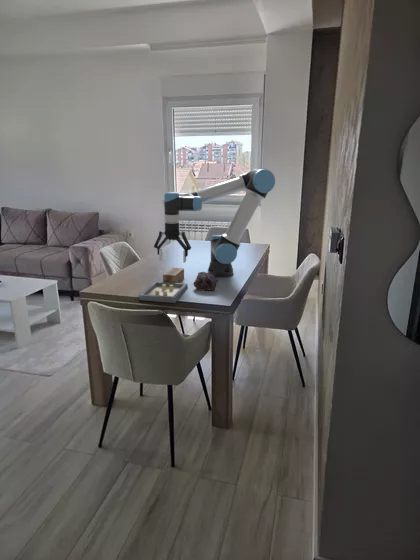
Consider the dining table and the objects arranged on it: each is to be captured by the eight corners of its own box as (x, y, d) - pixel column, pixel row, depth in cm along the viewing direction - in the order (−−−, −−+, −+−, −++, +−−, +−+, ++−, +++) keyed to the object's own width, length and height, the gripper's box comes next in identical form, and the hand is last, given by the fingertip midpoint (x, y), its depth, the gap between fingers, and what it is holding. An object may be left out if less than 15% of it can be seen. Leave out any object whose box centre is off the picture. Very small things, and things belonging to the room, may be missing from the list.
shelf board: (184, 279, 215) (184, 268, 213) (175, 287, 202) (175, 275, 200) (172, 278, 217) (172, 267, 215) (163, 286, 204) (162, 274, 202)
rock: (212, 295, 194) (218, 288, 202) (215, 279, 190) (220, 273, 199) (191, 289, 196) (198, 283, 205) (193, 274, 193) (200, 268, 202)
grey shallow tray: (187, 288, 200) (187, 282, 199) (175, 302, 180) (175, 296, 179) (155, 285, 204) (155, 280, 203) (139, 300, 183) (139, 294, 182)
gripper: (196, 222, 201) (196, 261, 207) (152, 220, 206) (153, 258, 212) (193, 224, 194) (193, 264, 200) (146, 222, 199) (148, 261, 205)
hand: (172, 261), depth 206 cm, fingers open, 13 cm apart
